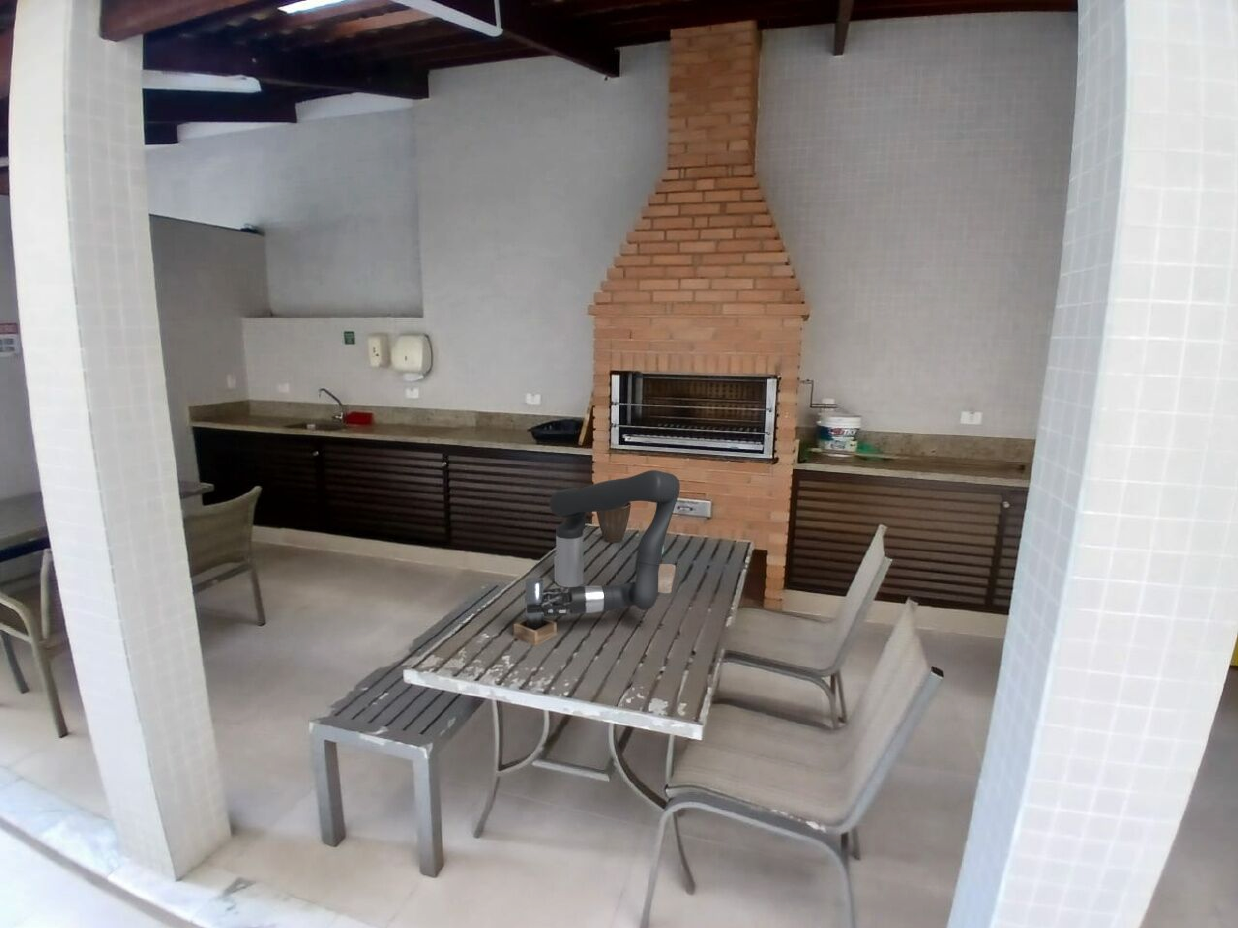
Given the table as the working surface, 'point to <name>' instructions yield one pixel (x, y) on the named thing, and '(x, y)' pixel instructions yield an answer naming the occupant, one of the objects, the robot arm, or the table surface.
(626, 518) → the plant pot
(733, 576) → the table surface
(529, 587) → the rod
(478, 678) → the table surface
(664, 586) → the brick
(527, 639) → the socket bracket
